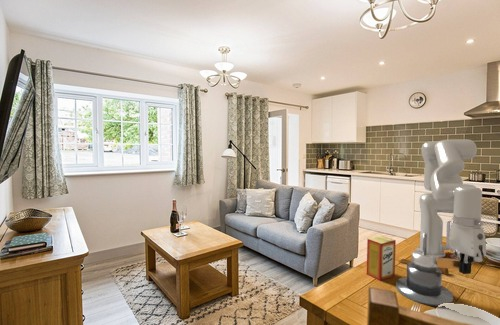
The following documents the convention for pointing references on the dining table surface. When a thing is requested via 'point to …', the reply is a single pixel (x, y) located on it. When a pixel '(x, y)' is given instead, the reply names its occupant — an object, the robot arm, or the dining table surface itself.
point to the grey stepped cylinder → (424, 287)
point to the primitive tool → (444, 270)
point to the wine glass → (448, 233)
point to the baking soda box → (381, 257)
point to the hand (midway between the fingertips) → (464, 272)
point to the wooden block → (431, 259)
